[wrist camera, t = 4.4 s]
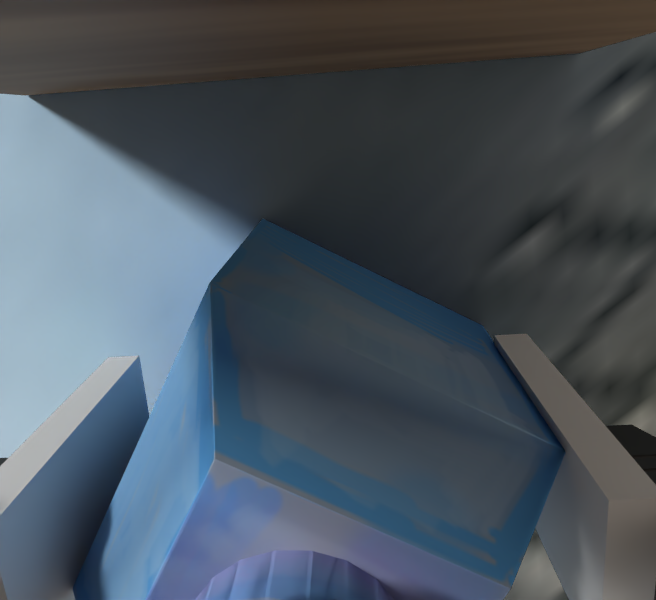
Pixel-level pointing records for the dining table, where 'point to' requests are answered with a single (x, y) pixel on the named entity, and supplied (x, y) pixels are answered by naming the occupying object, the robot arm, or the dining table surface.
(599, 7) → the wooden l-shaped stand
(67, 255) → the dining table surface
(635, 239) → the dining table surface
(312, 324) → the perfume bottle
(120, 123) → the dining table surface
